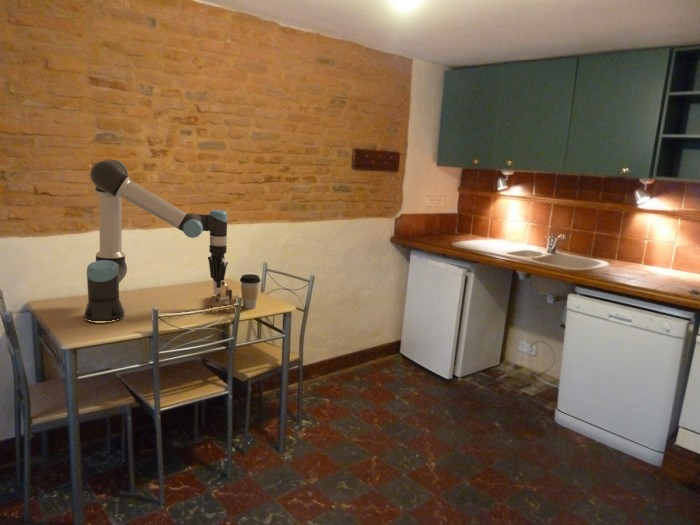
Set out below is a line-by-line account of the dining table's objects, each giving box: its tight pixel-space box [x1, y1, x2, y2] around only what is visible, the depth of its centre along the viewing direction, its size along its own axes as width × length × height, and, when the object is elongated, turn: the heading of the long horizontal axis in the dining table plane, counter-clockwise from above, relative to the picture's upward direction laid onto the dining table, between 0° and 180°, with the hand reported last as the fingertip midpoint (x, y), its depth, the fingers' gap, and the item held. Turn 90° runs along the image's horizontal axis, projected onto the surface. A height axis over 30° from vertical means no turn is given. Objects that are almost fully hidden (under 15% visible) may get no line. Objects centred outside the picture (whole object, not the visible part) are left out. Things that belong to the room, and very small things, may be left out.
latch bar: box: [220, 280, 228, 298], centre depth 242 cm, size 18×4×3 cm, turn 14°
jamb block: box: [215, 286, 230, 296], centre depth 250 cm, size 6×6×5 cm
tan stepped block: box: [210, 289, 238, 314], centre depth 236 cm, size 12×14×8 cm
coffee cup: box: [239, 273, 261, 310], centre depth 239 cm, size 9×9×15 cm
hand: (216, 293), depth 236 cm, fingers closed
